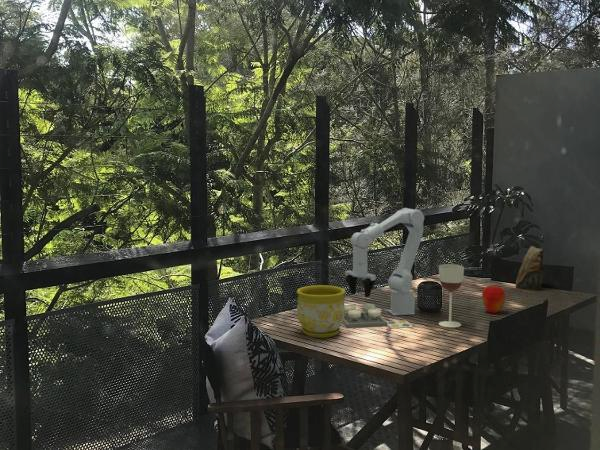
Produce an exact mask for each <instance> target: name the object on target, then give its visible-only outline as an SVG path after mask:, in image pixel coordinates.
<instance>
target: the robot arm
mask: <svg viewBox="0 0 600 450" xmlns="http://www.w3.org/2000/svg"><path fill="white" fill-rule="evenodd" d="M424 221H425V216H424V213H423V212H422V210H420V209H413V208H408V207H403V208H401V209H399V210H397V211H396V212H395V213H393V214H392V215H391V216H389V217H388V218H387V219H384V220H382V222H380V223H377V222H375V223H370V224H369V226H368V227H366V228H363V229H361V230H360V232H354V233H353V234H352V236H351V237H350V239H349V242H350V244H351V245H352V270H345V271H344V273H345V274H344V275H345V278H344V279H345V281H346V282H347V285H348V288H349V291H350V294H351V295H355V294H356V291H357V281H358V279H359V278H360V279H363V280H362V284H363V288H364V298H370V296H371V292H372V290H373V286H374V285H375V283H376V278H377V277H376V275H375V274H373V273H370V272H368V247H369V246H370V245H371V243H372V242H373V241H375V240H377V239H378V238H380V237H382V236H383V234H384V232H385V231H387V230H388V229H390V228H392V227H394V226H396V225H399V224H403V225H404V226H405V227H406V228H407V230H408V235H407V238H406V242H405V244H404V247H403V251H402V253H401V257H400V260H399V264H398V266H397V267H396V269H394V270H393V271H392V274H391V275H390V276H389V278H388V280H387V286H388V287H389V289H390V309H387V312H388V313H390V314H391V315H392V316H406V315H409V316H411V315H416V312H415V303H416V302H415V294H414V293H413V292H412V291H411V290H412V287H413V275H412V272H411V271H412V268H413V265H414V263H415V259H416V256H417V253H418V249H419V247H420V244H421V241H422V239H423V238H422V237H423V234H424V231H425V230H424Z"/></svg>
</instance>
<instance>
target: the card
mask: <svg viewBox="0 0 600 450" xmlns="http://www.w3.org/2000/svg"><path fill="white" fill-rule="evenodd" d="M385 321H386V320H385ZM386 322H387V327H389V328H390V329H407V328H410V327H411V328H414V326H413V325H412V323H409V321H408V320H389V321H386Z"/></svg>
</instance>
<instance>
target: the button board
mask: <svg viewBox="0 0 600 450" xmlns="http://www.w3.org/2000/svg"><path fill="white" fill-rule="evenodd" d="M342 324H343V326H345V328H346V329H359V328H377V327H379V328H380V327H381V328H382V327H388V325H387V322H386V320H385V319H384V318H383V317H382V315H381V316H379V317H376V319H373V317H371V316H368V314H367V312H366V311H363V312H362V311H361V317H359V318H356V320H353V318H350V317H348V313H347V312H345V315H344V320H343V322H342Z"/></svg>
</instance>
